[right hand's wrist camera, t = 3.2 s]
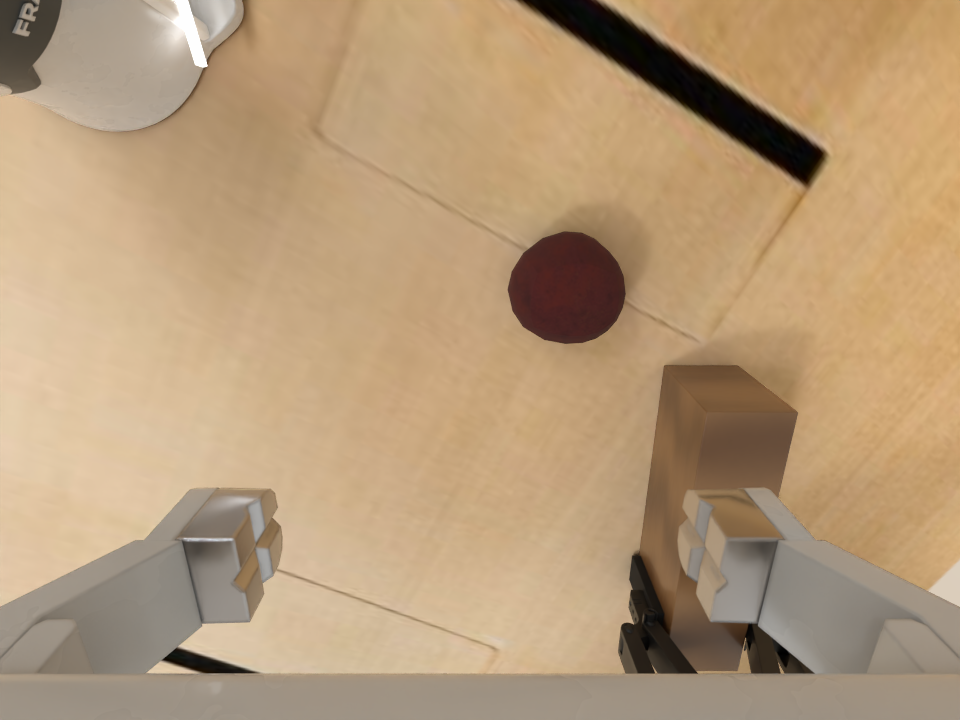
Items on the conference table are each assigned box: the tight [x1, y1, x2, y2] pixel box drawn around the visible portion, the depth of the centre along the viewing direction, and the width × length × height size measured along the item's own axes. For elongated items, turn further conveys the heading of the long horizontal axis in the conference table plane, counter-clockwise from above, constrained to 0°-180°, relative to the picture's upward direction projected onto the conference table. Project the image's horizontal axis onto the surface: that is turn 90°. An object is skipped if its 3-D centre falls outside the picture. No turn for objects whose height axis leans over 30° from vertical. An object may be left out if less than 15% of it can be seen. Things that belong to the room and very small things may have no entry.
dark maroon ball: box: [508, 232, 625, 344], centre depth 35 cm, size 7×8×7 cm
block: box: [639, 366, 798, 671], centre depth 41 cm, size 22×6×8 cm, turn 0°
